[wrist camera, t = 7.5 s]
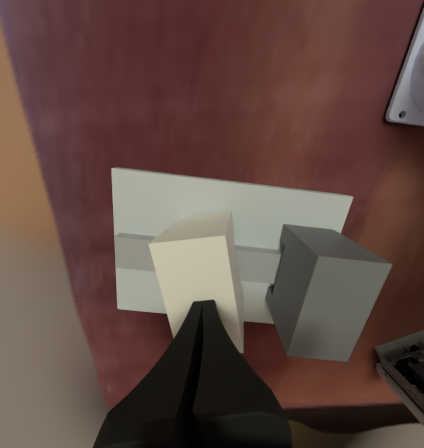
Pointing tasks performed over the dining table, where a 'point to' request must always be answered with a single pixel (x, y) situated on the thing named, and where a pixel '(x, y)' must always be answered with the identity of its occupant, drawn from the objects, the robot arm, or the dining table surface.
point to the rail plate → (257, 255)
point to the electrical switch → (404, 370)
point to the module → (200, 270)
